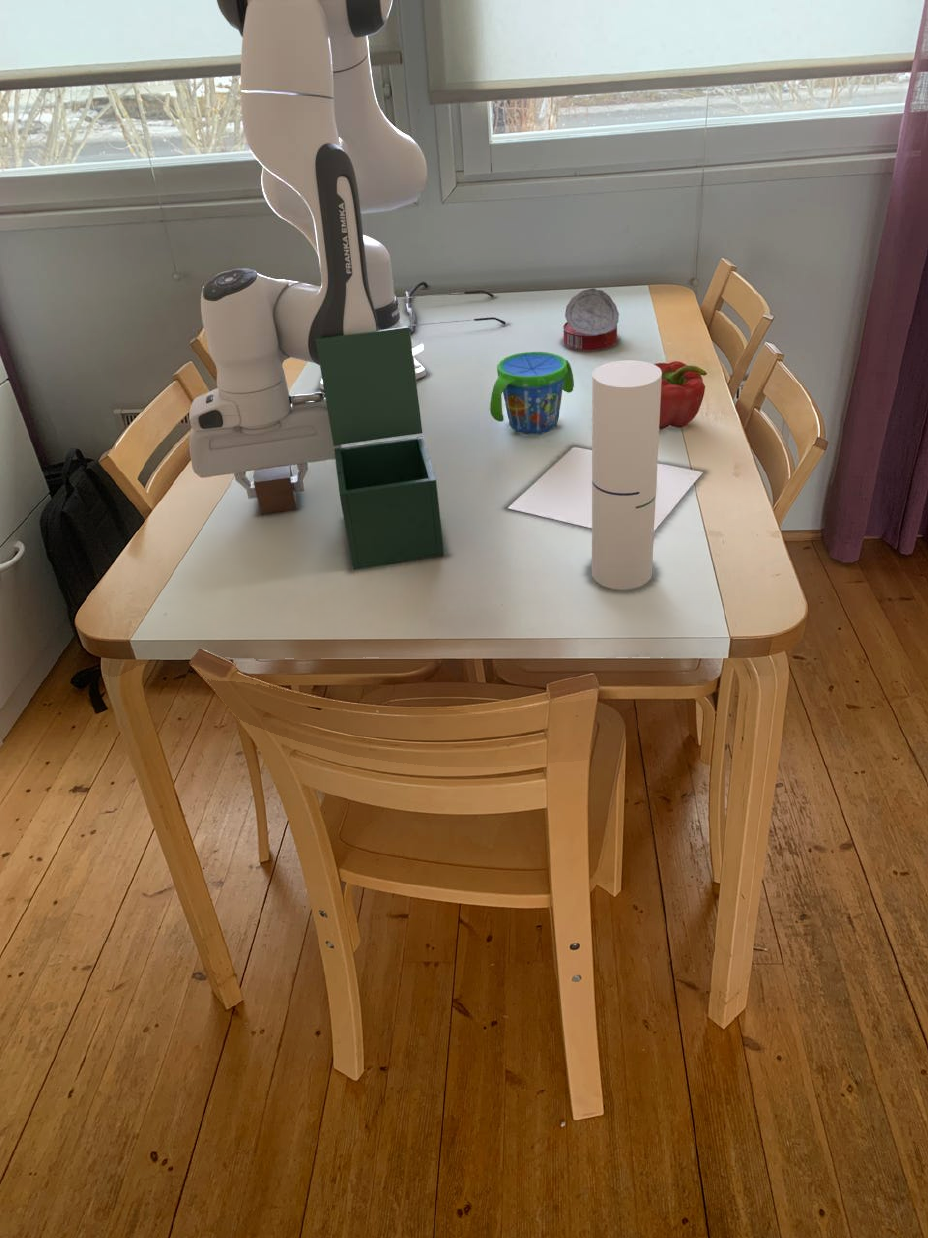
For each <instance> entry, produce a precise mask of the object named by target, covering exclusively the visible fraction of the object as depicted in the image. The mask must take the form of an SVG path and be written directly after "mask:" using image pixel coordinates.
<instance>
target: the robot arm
mask: <svg viewBox="0 0 928 1238" xmlns="http://www.w3.org/2000/svg"><path fill="white" fill-rule="evenodd" d="M216 4H217V7H218V9H219V11H220V13H221V15H222V16H223V17H224V19H225V20H226V21H227V23H228V24H229V25H230V26H231V27H232V28H234V29H235V30H238V32H239V35H240V36H241V38H242V40H241V53H240V91H241V92H240V101H241V102H240V104H241V105H240V106H241V107H240V108H241V123H242V128H243V129H242V130H243V133H244V138H245V141H246V145H247V147H248V149H249V151H250V153H251V154H252V155H253V156H254V158H255V159H256V161H257V162H258V163H259V164H260V165H261V166H262V170H261V176H260V177H261V179H260V180H261V190H262V193H263V197H264V198H265V200H266V203H267V204H268V206H269V207H270V209H271V210H272V211H273V212H274V213H275V214H276V215H277V216H278V217H279V218H281V219H282V220H284V221H285V222H288V223H289V224H290V225H292V226H294V227H295V228H296V229H297V230H298V231H300V232H301V233H302V234H303V235H304V236H305V237H306V240H308V241H309V242H310V244H311V245H312V247H313V249H314V251H315V252H316V254H317V257H318V262H319V271H320V279H321V286H320V285H314V284H308V283H307V282H301V281H295V280H289V279H276V278H272V277H267V276H265V275H262V274H260V273H258V272H257V271H256V270H254V269H251V268H244V267H243V268H234V269H231V270H227V271H222V272H220V273H218V274H216V275H215V276H213V277H212V278H210V279H209V280H208V281H207V282H206V283H204V285H203V287H202V290H201V295H200V312H201V321H202V327H203V332H204V336H205V340H206V341H205V342H206V346H207V350H208V353H209V356H210V358H211V360H212V361H213V363H214V366H215V368H216V369H215V370H216V386H217V387H216V388H213V389H212V390H210V391H208V392H205V393H203V394H201V395H199V396H197V397H195V398H194V399H193V401H192V403H191V405H190V407H189V415H188V418H189V419H188V420H189V424H190V426H191V429H190V433H189V441H188V444H189V446H188V447H189V455H190V462H191V466H192V470H193V472H194V474H196V475H197V476H198V477H199V478H203V479H204V478H205V479H206V478H212V477H217V476H219V477H220V476H225V475H231V474H233V475H234V480H235V481H236V482H237V483H238V484H240V486H241V487H242V488H244V490H246V494H247V498H248V500H252V499H257V495H256V491H255V486H254V481H251V480H249V478H248V477H247V476H246V473H248V472H252V471H253V472H254V470H261V469H268V468H275V467H282V466H289V465H291V466H295V465H296V469H297V470H298V472H297V475H293V477H292V484H293V487H294V492H296V493H298V492H299V493H300V492H305V484H304V479H305V477H306V475H307V473H308V470H309V466H308V465H309V464H308V463H315V462H323V461H324V462H325V461H329V460H335V451H334V449H335V448H342V445H337V446H334V445H333V439H332V433H331V428H330V422H329V416H328V410H327V404H326V398H325V393H324V387H323V381H322V378H321V379H320V382H319V385H320V389H321V390H323V392H322V391H318V392H314V393H308V394H295V395H290V392H289V389H288V383H287V377H286V373H285V369H284V367H283V364H284V363H285V362H284V361H287V360H288V359H290V358H291V359H294V360H299V361H303V362H309V363H313V364H316V365H318V366H320V363H319V357H318V351H317V346H316V339H317V338H325V337H332V336H340V335H347V334H355V333H362V332H370V331H378V330H385V329H393V328H400V327H406V326H405V325H403V323H401V321H400V320H401V315H400V311H401V310H400V304H399V299H398V297H397V296H396V294H395V289H394V280H393V279H394V278H393V271H392V262H391V256H390V253H389V251H388V250H387V248H386V247H385V245H384V244H382V243H381V242H380V241H378V240H376V239H375V238H373V237H371V236H368V235H365V234H364V230H363V221H362V220H363V219H362V215H364V214H365V215H366V214H371V213H372V214H373V213H381V212H388V211H389V212H390V211H393V210H397V209H399V208H402V207H405V206H409V205H411V204H413V203H416V202H418V201H419V199H420V198H421V196H422V194H423V193H424V191H425V188H426V185H427V181H428V165H427V161H426V158H425V155H424V153H423V151H422V149H421V147H420V146H419V144H418V143H417V142H416V141H415V140H414V139H413V138H412V137H411V136H410V135H408V134H406V133H404V132H402V131H401V130H399V129H398V128H397V127H396V126H394V125H393V124H392V123H391V122H390V121H389V120H388V118H387V117H386V116H385V114H384V113H383V111H382V110H381V108H380V105H379V103H378V100H377V96H376V92H375V87H374V81H373V75H372V74H373V73H372V65H371V57H370V46H369V38H368V36H372V35H375V34H377V33H379V32H380V30H381V29H383V27H384V26H385V25H386V24H387V22H388V18H389V14H390V11H391V9H392V5H393V0H216ZM421 286H423V287H425V288H427V287H429V284H428V283H427V282H426V281H419V282H418V283H416V284H415V285H414V286H413V287H411V289H410V290H409V292H408V296H409V297H412V295H413V294H414V293H415V292H416V291H417V290H418V288H420V287H421ZM409 305H410V308H411V310H412V318H413V324H415V325H416V326H417V314H416V311H415V310H414V308H413V307H412V306H411V302H410V301H409ZM416 326H414V327H413V330H414V329H415V327H416ZM409 329H410V337H411V338H412V334H411V333H412V331H411V326H410V325H409ZM411 345H412V346H413V341H412V340H411ZM424 349H425V348H424V344H423V343H421V344H419V345H417V346H415V347H414V348H413V347H412V353H413V361H414V369H415V377H416V380H418V379H420V378H423V377H425V376H426V375H427V371H426V368H425V367H424V366H423V365H422V363H420V362H419V360H418V359H416V358H415V355H417V354H419V353H420V352H421V353H422V352H423V351H424Z"/></svg>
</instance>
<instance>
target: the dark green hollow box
mask: <svg viewBox="0 0 928 1238" xmlns="http://www.w3.org/2000/svg"><path fill="white" fill-rule="evenodd" d="M334 451H335V459H334V460H335V467H336V476H337V485H338V492H339V499H340V506H341V510H342V515H343V520H344V528H345V534H346V539H347V544H348V550H349V556H350V561H351V562H350V563H351V566H352V570H353V571H354V570H359V569H360V570H361V569H367V568H372V567H379V566H380V567H381V566H385V565H394V564H398V563H406V562H411V561H420V560H424V559H431V558H437V557H444V556H445V551H444V543H443V542H444V541H443V534H442V533H443V532H442V524H441V514H440V504H439V495H438V486H437V485H438V484H437V478H436V475H435V472H434V469H433V466H432V462H431V459H430V456H429V452H428V449H427V446H426V442H425V439H424V436H423V435H420V436H414V437H406V438H400V439H399V438H398V439H393V440H386V441H378V442H372V443H364V444H357V445H356V444H355V445H350V446H349V445H348V446H343V447H342V446H341V448H335V449H334Z"/></svg>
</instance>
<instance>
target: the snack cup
mask: <svg viewBox="0 0 928 1238" xmlns="http://www.w3.org/2000/svg"><path fill="white" fill-rule="evenodd" d="M496 370H497V371H496V373H497V378H496V380H495V382H494V385H493V387H492V391H491V397H490V405H489V410H490V415H491V416H492V418H493V419H494V420H495V421H498V422H504V415H503V404H502V403H503V402H502V394H503V401H504V406H505V410H506V414H507V419H508V424H509V426H510V427H511V429H512V430H514V432H515V433H517V434H518V433H520V434H525V435H543V434H544V433H547V432H549V431H551V430H553V429H554V428H556V427H557V426H558V421H559V417H560V409H561V405H562V397H563V392H565V393H567V394H568V393H572V392H573V391H574V388H575V381H574V373H573V369H572V366H571V364H570V362H569V360H568V359H565V358H564V357H563V356H561V355H559V354H556V353H551V352H547V351H546V352H545V351H526V352H519V353H515V354H511V355H508V356H506V357H504V358H502V359H501V360H500V361H499V362H498V363H497V365H496Z"/></svg>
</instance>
